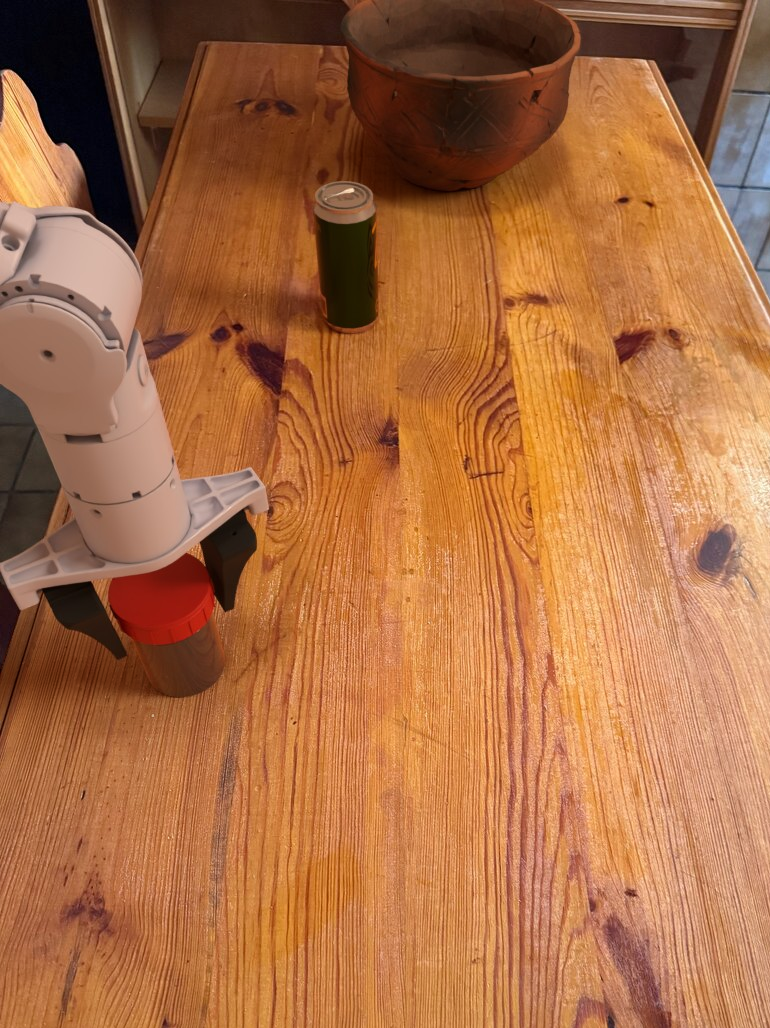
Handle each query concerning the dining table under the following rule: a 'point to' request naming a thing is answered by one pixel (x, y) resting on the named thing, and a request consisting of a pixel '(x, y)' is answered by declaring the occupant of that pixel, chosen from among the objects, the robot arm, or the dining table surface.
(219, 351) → the dining table surface
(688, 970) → the dining table surface
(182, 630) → the jar lid
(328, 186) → the beer can
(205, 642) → the jar
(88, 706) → the dining table surface
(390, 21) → the bowl
